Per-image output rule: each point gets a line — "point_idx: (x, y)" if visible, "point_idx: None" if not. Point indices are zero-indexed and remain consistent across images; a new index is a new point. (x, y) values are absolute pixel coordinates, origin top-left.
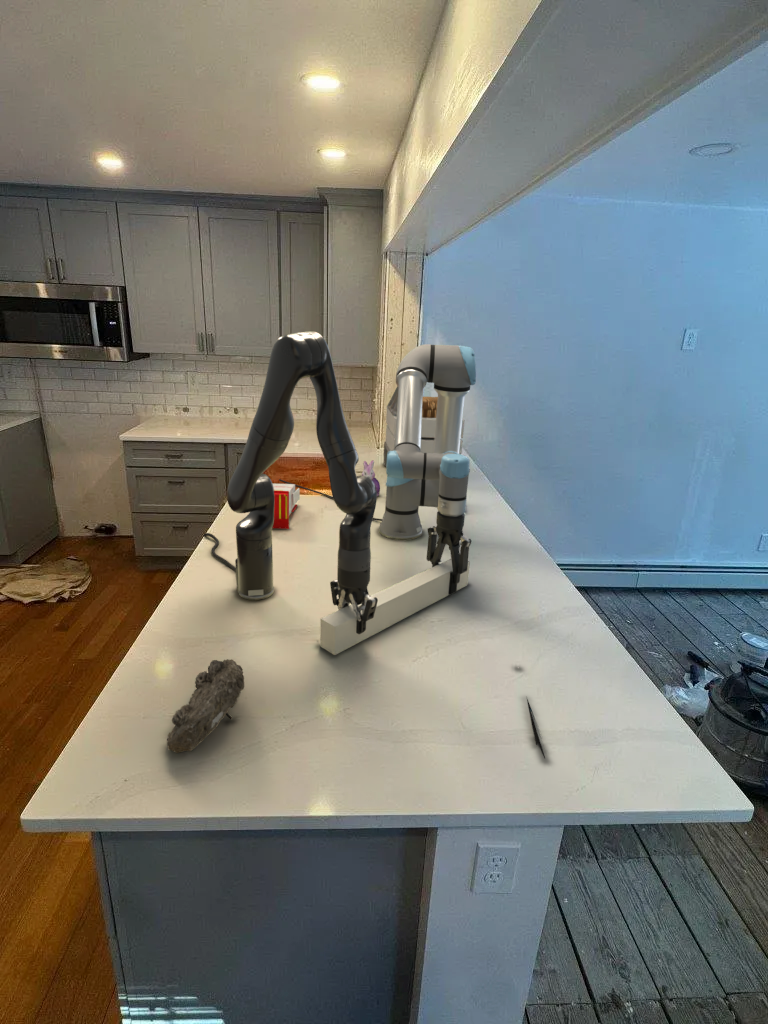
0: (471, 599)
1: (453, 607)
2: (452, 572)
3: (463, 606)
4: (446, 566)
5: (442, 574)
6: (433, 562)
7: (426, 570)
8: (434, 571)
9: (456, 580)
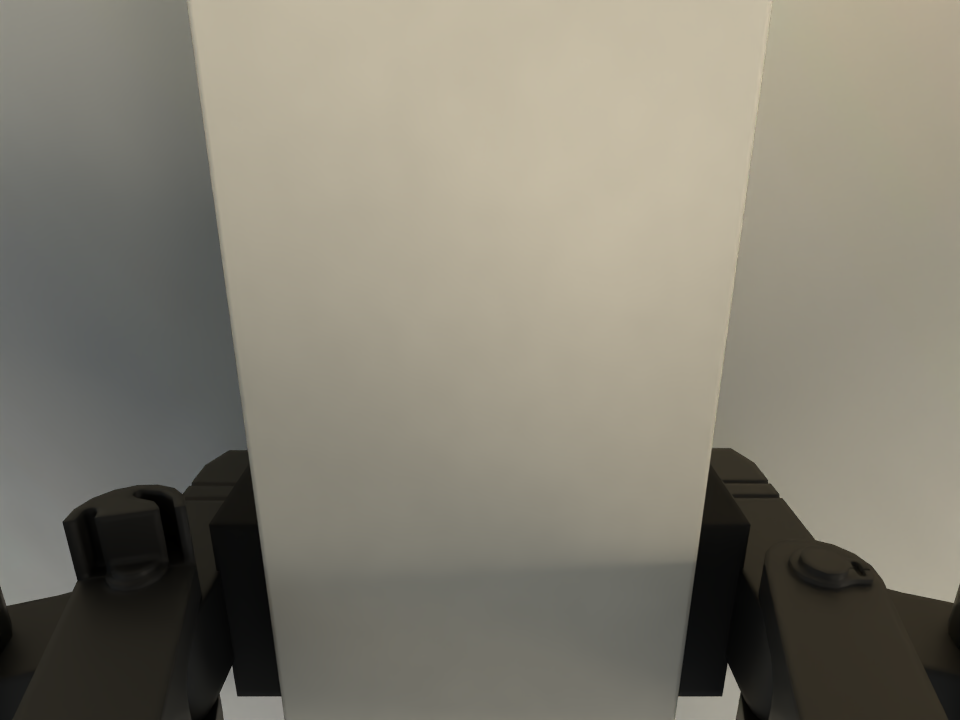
0: (129, 458)
1: (95, 128)
2: (155, 519)
3: (47, 252)
4: (489, 658)
5: (243, 260)
6: (816, 581)
7: (730, 107)
8: (515, 238)
9: (196, 489)
